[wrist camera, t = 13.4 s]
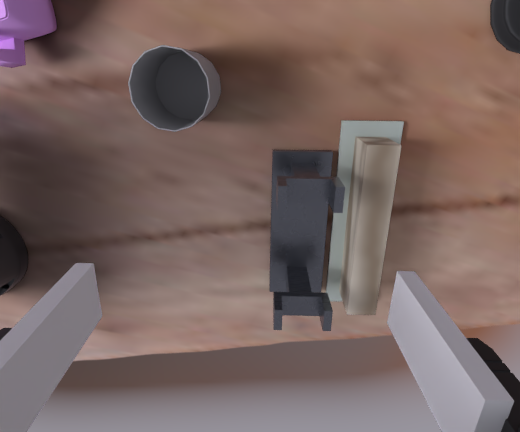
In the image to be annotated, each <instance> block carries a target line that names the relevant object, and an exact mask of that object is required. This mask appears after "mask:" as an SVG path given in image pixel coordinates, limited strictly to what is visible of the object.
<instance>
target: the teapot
mask: <svg viewBox="0 0 520 432" xmlns="http://www.w3.org/2000/svg"><path fill="white" fill-rule="evenodd" d="M56 29H57V22H56V17H55V13H54V9H53V5H52V2H51V0H0V66H4V67H11V68H12V67H17V66H22V65H26V62H25V47H24V41H25V40H28V39H32V38H36V37H39V36H43V35H46V34H49V33H52V32H54V31H55V30H56Z"/></svg>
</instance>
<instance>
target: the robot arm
mask: <svg viewBox="0 0 520 432" xmlns="http://www.w3.org/2000/svg"><path fill="white" fill-rule="evenodd" d="M27 266H28V254H27V250H26V246H25V244H24V242H23V240H22V238H21V236H20V235H19V233H18V232H17V231H16V229H15V228H14V227H13V226H12V225H11V224H10V223H9V222H8V221H7V220H5V219H4V218H3V217H1V216H0V295H2V294H4V293H6V292H7V291H9V290H10V289H11V288H12V287H14V286H15V285H16V284H17V283H18V282H19V281H20V280H21V279H22V278H23V276H24V275H25V273H26V270H27ZM101 317H102V311H101V305H100V299H99V293H98V287H97V280H96V274H95V268H94V263H75V264H74V265H73V266H72V267H71V268H70V269H69V271H68V272H67V273H66V274H65V275H64V276H63V277H62V278H61V279H60V280H59V281H58V282H57V283H56V284H55V285H54V286H53V287H52V288H51V289H50V290H49V291H48V292H47V293H46V294H45V295H44V296H43V297H42V298H41V299H40V300H39V301H38V302H37V303H36V304H35V305H34V306H33V307H32V308H31V309H30V311H29V312H28V313H27V314H26V315H25V316H24V317H23V318H22V319H21V320H20V321H19V322H18V323H17V324H16V325H15V326H14V327H13V328H3V329H1V330H0V432H27V431H28V429H29V428H30V426H31V424H32V423H33V422H34V420H35V418H36V417H37V415H38V414H39V412H40V411H41V409H42V408H43V406H44V405H45V403H46V402H47V400H48V399H49V397H50V395H51V394H52V392H53V391H54V389H55V388H56V386H57V385H58V383H59V381H60V380H61V379H62V377H63V376H64V374H65V372H66V371H67V369H68V368H69V366H70V365H71V363H72V362H73V360H74V359H75V357H76V356H77V354H78V353H79V351H80V350H81V348H82V347H83V345H84V343H85V342H86V340H87V339H88V337H89V336H90V334H91V333H92V331H93V330H94V328H95V327H96V325H97V324H98V322H99V321H100V319H101ZM387 324H388V326H389V328H390V330H391V332H392V334H393V336H394V337H395V340H396V342H397V344H398V346H399V348H400V350H401V352H402V354H403V356H404V358H405V360H406V362H407V364H408V366H409V368H410V370H411V372H412V374H413V376H414V378H415V380H416V382H417V384H418V385H419V387H420V390H421V392H422V394H423V396H424V397H425V400H426V402H427V404H428V406H429V408H430V410H431V411H432V414H433V416H434V417H435V420H436V422H437V424H438V426H439V428H440V430H441V431H442V432H520V382H519V380H518V379H517V378H516V377H515V376H514V374H513V373H510V370H509V369H508V367H507V366H506V365H505V364H504V363H502V360H501V359H500V358H499V357H498V355H497V354H496V353H495V352H494V351H493V349H492V348H490V347H489V346H488V345H486V344H484V343H483V342H482V341H481V340H479V339H478V338H466V337H465V336H464V335H463V334H462V332H461V331H460V330H459V328H458V327H457V326H456V324H455V323H454V322H453V321H452V319H451V318H450V317H449V315H448V314H447V313H446V311H445V310H444V309H443V308H442V306H441V305H440V304H439V302H438V301H437V300H436V298H435V297H434V296H433V295H432V293H431V292H430V291H429V289H428V288H427V287H426V285H425V284H424V283H423V282H422V280H421V279H420V278H419V276H418V275H417V274H416V272H415V271H397V274H396V279H395V284H394V290H393V295H392V300H391V305H390V311H389V316H388V321H387Z"/></svg>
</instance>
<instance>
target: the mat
mask: <svg viewBox="0 0 520 432" xmlns="http://www.w3.org/2000/svg"><path fill="white" fill-rule="evenodd" d="M403 124H404V121H358V120H341V131H340V142H339V153H338V164H337V175H336V177H339V179H340V180H341V181H342V183H343V184H344V186H345V194H344V204H343V213H333V219H332V230H331V241H330V252H329V263H328V274H327V285H326V293H328V296H329V300H330V301H342V298H341V295H340V292H339V287H340V277H341V268H342V259H343V249H344V240H345V230H346V221H347V212H348V202H349V193H350V184H351V174H352V165H353V156H354V146H355V137H387V138H389V139H391V140H392V141H394V142H396V143H398V144H401V137H402V131H403Z"/></svg>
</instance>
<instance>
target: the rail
mask: <svg viewBox="0 0 520 432" xmlns="http://www.w3.org/2000/svg"><path fill="white" fill-rule="evenodd" d="M401 146H402V145H400V144H398V143H396V142H394V141H392V140H391V139H389V138H387V137H355V146H354V156H353V165H352V174H351V184H350V193H349V202H348V212H347V221H346V230H345V240H344V249H343V259H342V268H341V277H340V287H339V292H340V295H341V298H342V301H343V304H344V307H345V310H346V313H347V315H375V314H376V307H377V301H378V294H379V288H380V281H381V275H382V268H383V262H384V256H385V249H386V243H387V236H388V230H389V223H390V217H391V210H392V204H393V198H394V191H395V185H396V178H397V172H398V165H399V159H400V152H401Z"/></svg>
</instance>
